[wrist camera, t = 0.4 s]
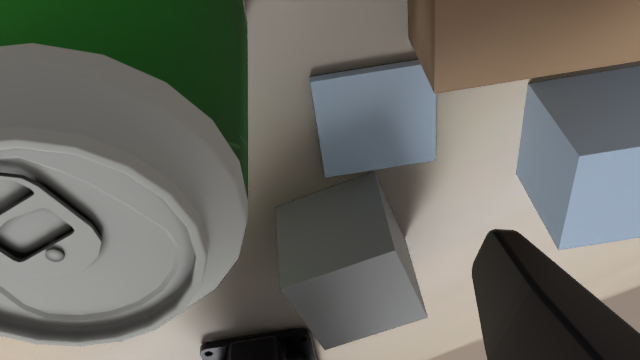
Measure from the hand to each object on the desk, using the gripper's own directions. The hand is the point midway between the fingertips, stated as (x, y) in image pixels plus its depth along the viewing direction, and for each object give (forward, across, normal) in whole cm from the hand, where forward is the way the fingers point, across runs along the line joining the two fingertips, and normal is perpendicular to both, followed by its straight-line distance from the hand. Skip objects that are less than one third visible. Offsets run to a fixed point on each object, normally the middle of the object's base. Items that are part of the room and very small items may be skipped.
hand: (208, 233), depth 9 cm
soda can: (+14, +3, +2) cm, 15 cm away
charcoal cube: (+14, -6, +13) cm, 20 cm away
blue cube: (+14, -16, +6) cm, 22 cm away
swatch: (+14, -7, +6) cm, 17 cm away
